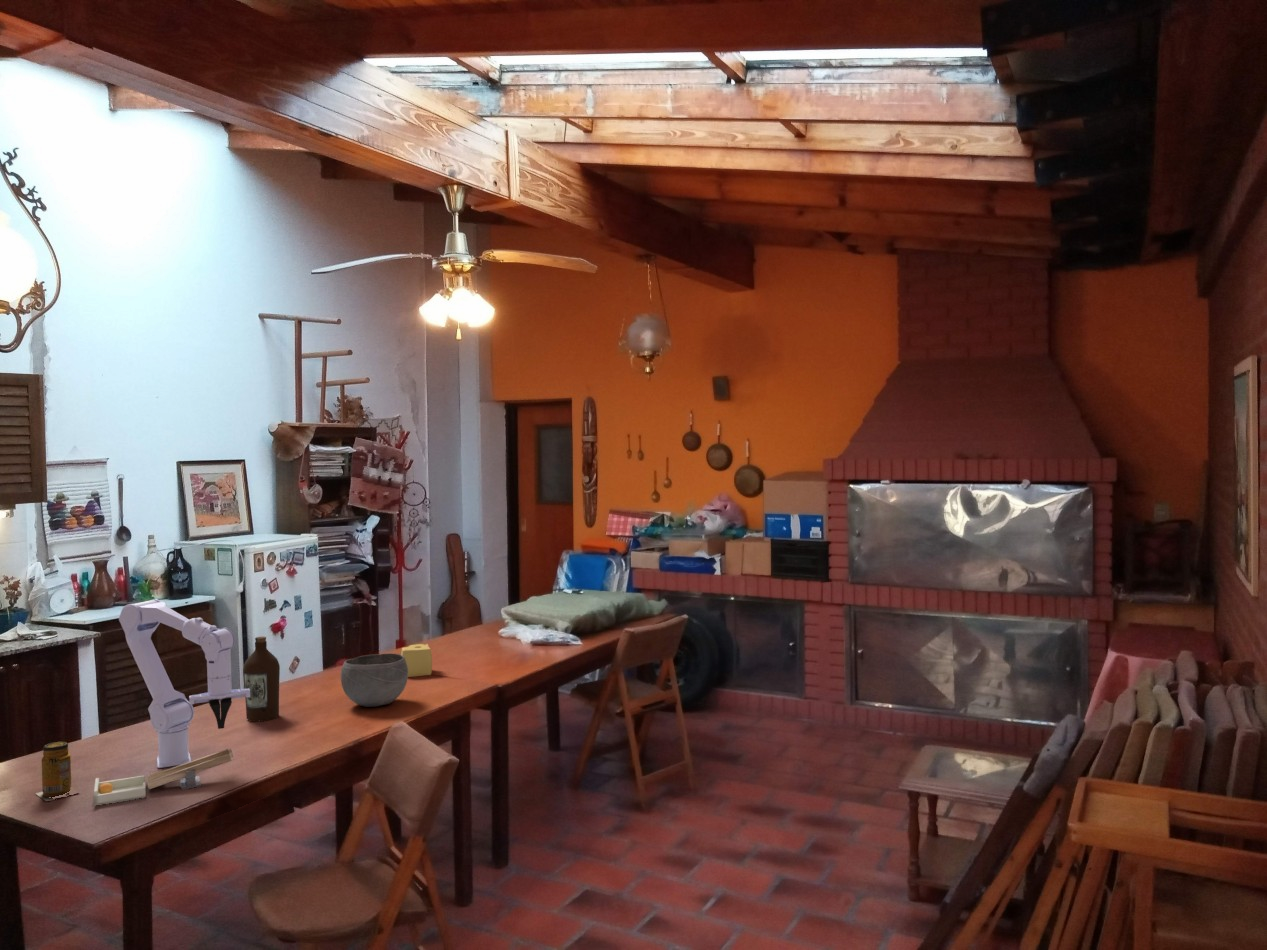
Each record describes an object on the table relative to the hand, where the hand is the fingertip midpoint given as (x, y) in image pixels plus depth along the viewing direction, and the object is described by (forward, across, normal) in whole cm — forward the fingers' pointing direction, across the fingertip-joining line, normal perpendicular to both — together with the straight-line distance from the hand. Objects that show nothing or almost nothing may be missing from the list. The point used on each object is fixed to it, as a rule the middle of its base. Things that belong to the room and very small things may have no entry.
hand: (220, 727), depth 251 cm
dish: (+10, -23, -10) cm, 27 cm away
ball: (+8, -26, -10) cm, 29 cm away
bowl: (+11, +49, +42) cm, 65 cm away
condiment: (+11, -37, -1) cm, 39 cm away
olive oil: (+11, +15, +45) cm, 49 cm away
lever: (+8, -8, -7) cm, 13 cm away
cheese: (+11, +72, +78) cm, 107 cm away
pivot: (+10, -8, -10) cm, 16 cm away
